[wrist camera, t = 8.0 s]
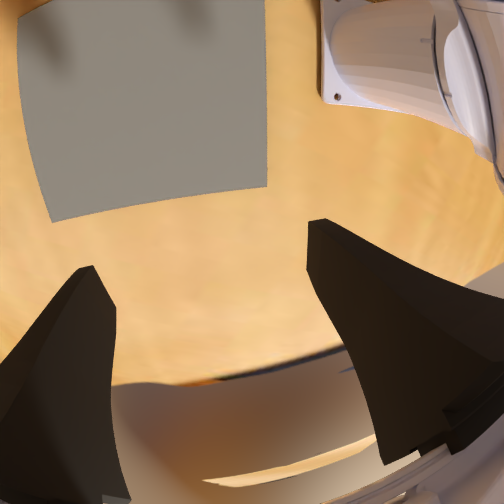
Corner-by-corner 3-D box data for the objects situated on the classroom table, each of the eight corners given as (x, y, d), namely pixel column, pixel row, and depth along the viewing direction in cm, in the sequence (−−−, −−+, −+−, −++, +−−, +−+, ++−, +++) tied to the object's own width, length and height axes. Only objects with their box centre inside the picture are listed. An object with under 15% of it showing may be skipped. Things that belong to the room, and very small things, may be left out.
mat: (261, -35, 9) (263, -37, 8) (265, 184, 18) (267, 186, 17) (20, 18, 6) (17, 18, 6) (54, 219, 15) (52, 222, 15)
